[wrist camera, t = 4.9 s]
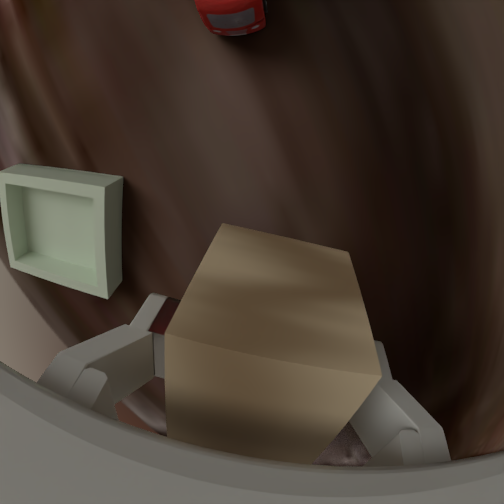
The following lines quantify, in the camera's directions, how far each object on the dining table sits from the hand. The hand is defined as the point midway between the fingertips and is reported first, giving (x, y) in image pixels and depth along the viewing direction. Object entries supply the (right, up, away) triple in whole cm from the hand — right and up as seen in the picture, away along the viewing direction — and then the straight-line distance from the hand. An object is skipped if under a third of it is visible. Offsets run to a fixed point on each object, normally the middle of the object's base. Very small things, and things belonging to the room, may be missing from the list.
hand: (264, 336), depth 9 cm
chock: (0, +1, +2) cm, 2 cm away
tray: (-14, +5, +11) cm, 19 cm away
